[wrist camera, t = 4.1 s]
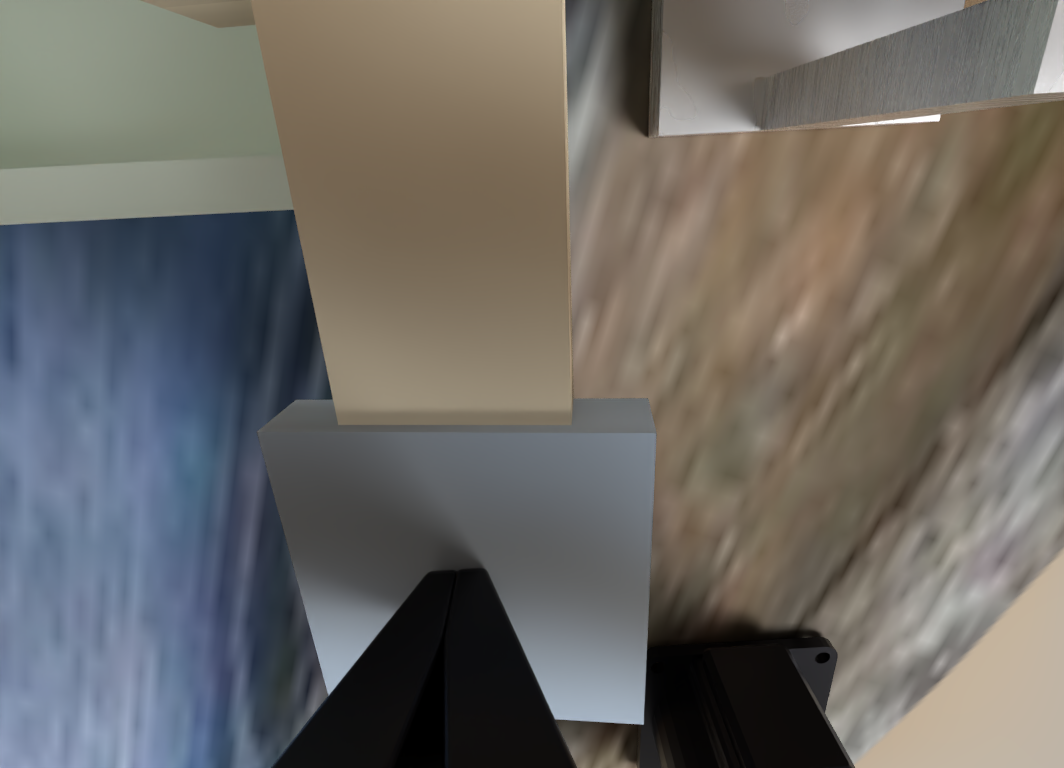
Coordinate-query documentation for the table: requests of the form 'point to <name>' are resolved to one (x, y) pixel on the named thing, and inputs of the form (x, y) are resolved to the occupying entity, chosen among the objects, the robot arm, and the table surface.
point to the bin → (132, 115)
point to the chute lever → (449, 340)
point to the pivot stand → (846, 62)
